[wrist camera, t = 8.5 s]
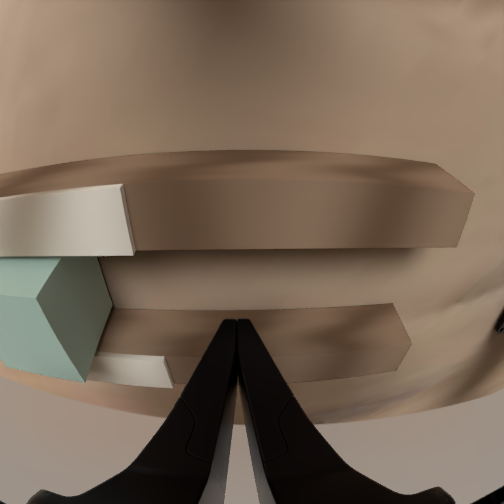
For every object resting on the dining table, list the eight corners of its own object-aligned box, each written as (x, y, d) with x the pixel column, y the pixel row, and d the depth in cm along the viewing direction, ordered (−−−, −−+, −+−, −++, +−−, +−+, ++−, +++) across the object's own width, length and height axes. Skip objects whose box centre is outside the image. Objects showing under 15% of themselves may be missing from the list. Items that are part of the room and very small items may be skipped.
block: (87, 221, 13) (35, 297, 8) (112, 304, 15) (85, 382, 11) (9, 226, 12) (-44, 290, 8) (40, 300, 15) (6, 366, 11)
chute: (435, 163, 12) (479, 196, 9) (380, 331, 18) (397, 374, 15) (-1, 174, 11) (-43, 207, 8) (61, 331, 17) (44, 372, 14)
